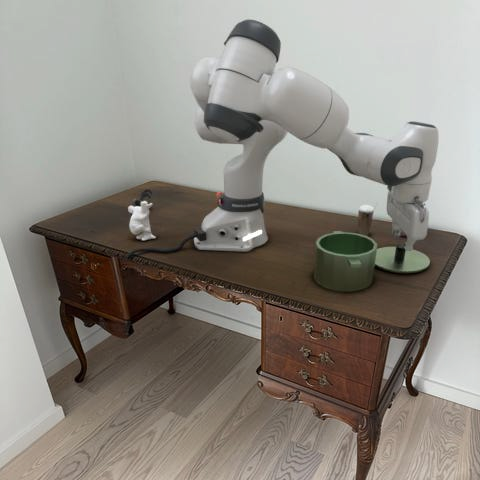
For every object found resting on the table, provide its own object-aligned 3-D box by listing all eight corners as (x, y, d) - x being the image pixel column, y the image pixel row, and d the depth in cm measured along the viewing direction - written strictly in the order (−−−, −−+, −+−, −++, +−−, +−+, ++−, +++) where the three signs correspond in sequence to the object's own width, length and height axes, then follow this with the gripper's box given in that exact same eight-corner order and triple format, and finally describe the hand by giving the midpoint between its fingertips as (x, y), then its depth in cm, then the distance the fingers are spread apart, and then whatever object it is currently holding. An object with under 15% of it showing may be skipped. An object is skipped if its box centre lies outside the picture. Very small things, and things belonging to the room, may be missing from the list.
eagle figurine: (157, 209, 165) (157, 196, 172) (143, 194, 161) (144, 182, 167) (140, 220, 168) (141, 208, 174) (127, 206, 163) (128, 193, 170)
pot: (321, 298, 111) (324, 262, 106) (308, 262, 128) (310, 229, 122) (382, 296, 111) (388, 259, 106) (361, 260, 128) (365, 227, 123)
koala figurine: (162, 236, 146) (157, 199, 140) (149, 244, 141) (144, 205, 135) (140, 232, 150) (134, 195, 143) (127, 240, 144) (120, 202, 138)
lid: (378, 276, 119) (380, 259, 117) (362, 251, 133) (364, 236, 130) (438, 274, 120) (442, 257, 117) (417, 249, 133) (419, 234, 130)
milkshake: (373, 238, 141) (378, 205, 135) (355, 237, 142) (359, 205, 136) (373, 232, 144) (377, 200, 139) (355, 231, 145) (359, 200, 140)
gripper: (439, 204, 108) (428, 258, 115) (408, 179, 125) (400, 228, 132) (412, 205, 107) (403, 260, 115) (385, 180, 125) (378, 229, 132)
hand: (401, 242), depth 124 cm, fingers open, 8 cm apart
